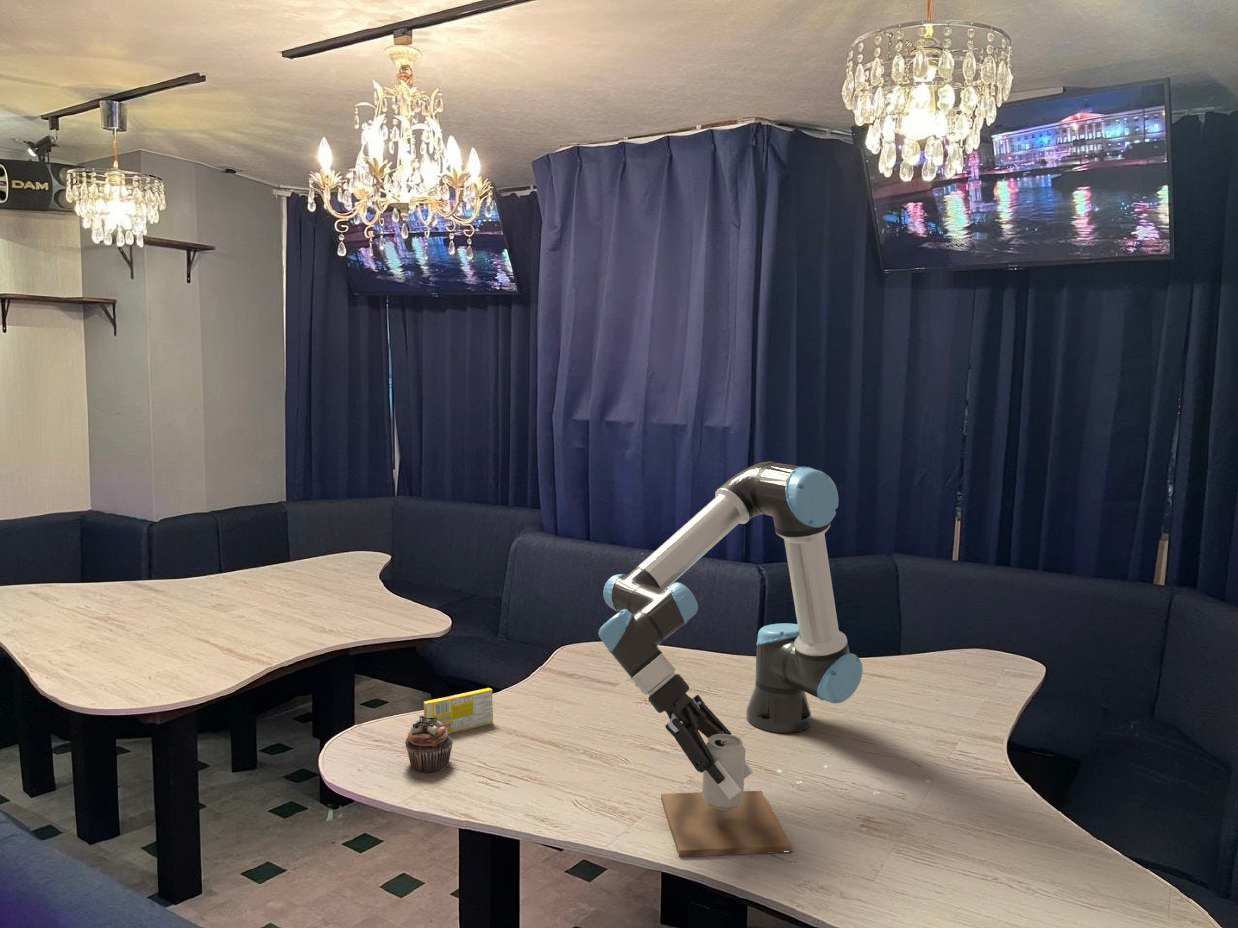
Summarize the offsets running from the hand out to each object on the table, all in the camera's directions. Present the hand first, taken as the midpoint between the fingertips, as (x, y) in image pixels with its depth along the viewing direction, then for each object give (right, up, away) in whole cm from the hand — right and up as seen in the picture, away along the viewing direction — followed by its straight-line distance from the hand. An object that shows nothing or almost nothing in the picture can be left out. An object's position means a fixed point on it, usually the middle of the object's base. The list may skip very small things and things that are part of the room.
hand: (741, 784), depth 165 cm
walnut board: (-3, -8, +3) cm, 9 cm away
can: (-3, -4, +2) cm, 6 cm away
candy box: (-59, -2, +41) cm, 72 cm away
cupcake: (-62, -4, +24) cm, 66 cm away
